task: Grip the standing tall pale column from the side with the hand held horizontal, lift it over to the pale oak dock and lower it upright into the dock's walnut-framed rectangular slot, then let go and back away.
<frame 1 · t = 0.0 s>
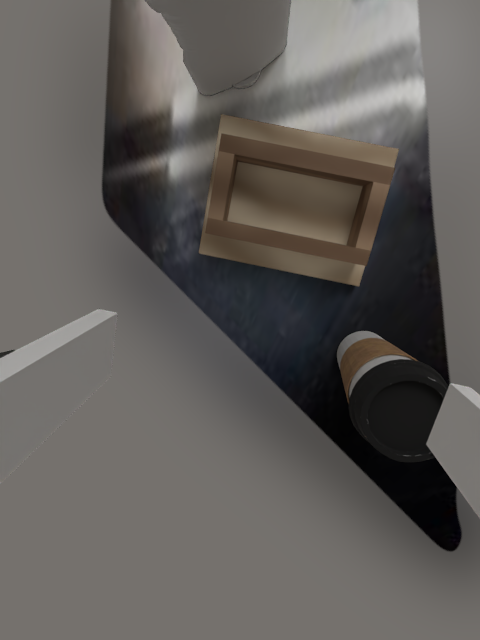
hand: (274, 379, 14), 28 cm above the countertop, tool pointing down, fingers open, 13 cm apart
coffee cup: (361, 353, 43), on the countertop
dock: (292, 204, 39), on the countertop
tall pale column: (241, 66, 36), on the countertop
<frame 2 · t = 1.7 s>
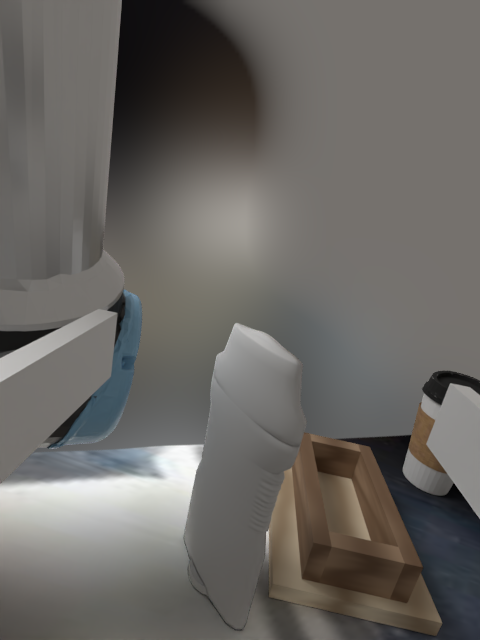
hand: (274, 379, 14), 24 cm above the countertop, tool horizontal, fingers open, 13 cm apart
coffee cup: (424, 480, 49), on the countertop
dock: (333, 526, 38), on the countertop
tall pale column: (211, 573, 31), on the countertop
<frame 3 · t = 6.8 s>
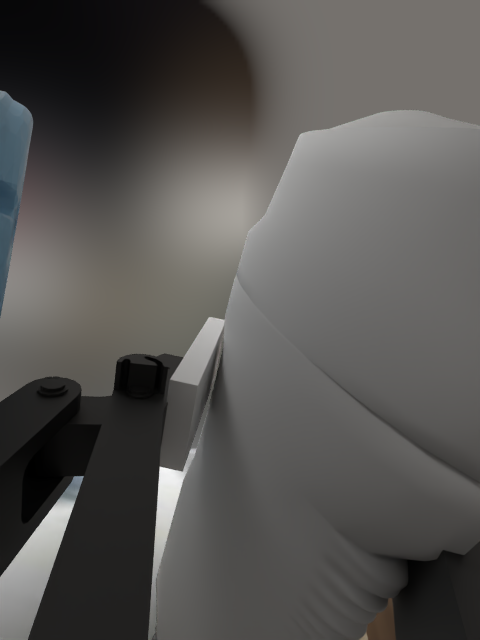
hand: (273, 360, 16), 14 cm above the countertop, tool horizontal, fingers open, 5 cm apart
dock: (412, 588, 22), on the countertop
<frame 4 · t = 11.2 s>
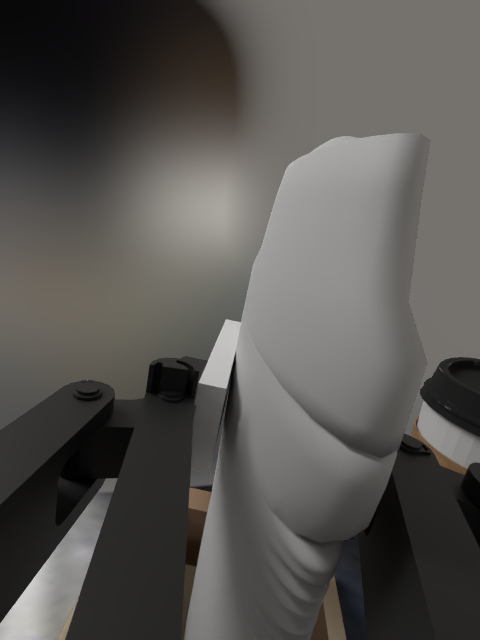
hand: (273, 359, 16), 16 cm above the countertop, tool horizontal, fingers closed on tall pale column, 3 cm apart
coffee cup: (424, 564, 26), on the countertop
when the fingers open (16 cm above the countertop, at t = 11.3 s): tall pale column stays where it is, resting on dock.
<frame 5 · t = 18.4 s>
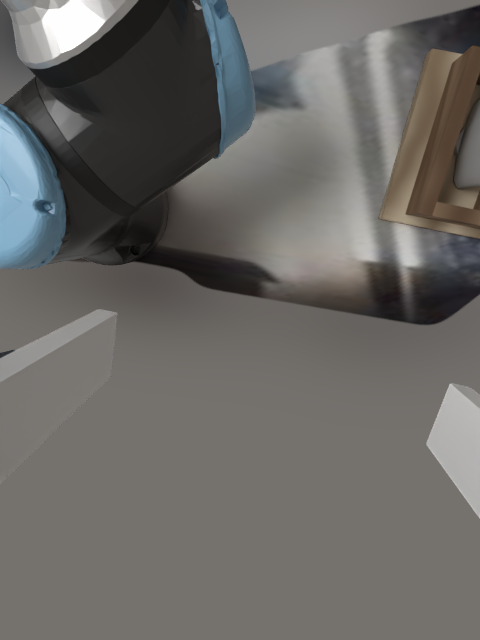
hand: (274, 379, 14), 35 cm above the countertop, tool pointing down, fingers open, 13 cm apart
dock: (459, 153, 42), on the countertop
tall pale column: (470, 144, 41), point 1 cm above the countertop, touching dock
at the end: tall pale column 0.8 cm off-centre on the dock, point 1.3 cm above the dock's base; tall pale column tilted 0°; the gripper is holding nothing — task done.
